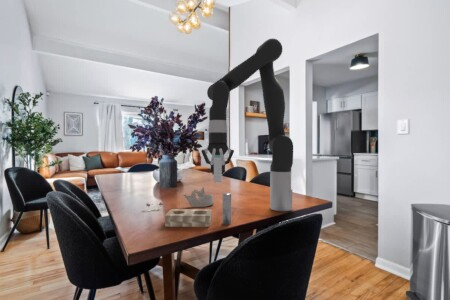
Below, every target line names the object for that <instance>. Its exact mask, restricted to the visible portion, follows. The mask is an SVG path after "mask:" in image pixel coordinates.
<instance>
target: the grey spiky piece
mask: <svg viewBox="0 0 450 300" xmlns="http://www.w3.org/2000/svg"><path fill="white" fill-rule="evenodd" d="M196 195H197V196H196ZM183 197H184V198H185V200H186V201H187V202H188V204H189V206H190V207H192V208H207V207H209V206H212V205H214V204H215V202H214V197H213V195H212V193H210V194H206V193H205V188H204V187H202V188H201V189H200V191H198V190H197V189H194V190H193V191H192V192H191V194H190V195H187V193H186V192H185V193H183ZM197 197H198V198H197Z"/></svg>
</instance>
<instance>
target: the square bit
mask: <svg viewBox="0 0 450 300" xmlns="http://www.w3.org/2000/svg"><path fill="white" fill-rule="evenodd" d="M222 182H223V174H222V159H221V156H220V155H215V158H214V174H213V183H222Z"/></svg>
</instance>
